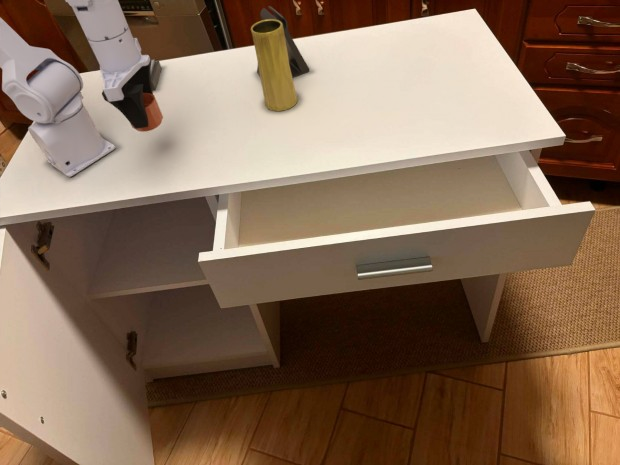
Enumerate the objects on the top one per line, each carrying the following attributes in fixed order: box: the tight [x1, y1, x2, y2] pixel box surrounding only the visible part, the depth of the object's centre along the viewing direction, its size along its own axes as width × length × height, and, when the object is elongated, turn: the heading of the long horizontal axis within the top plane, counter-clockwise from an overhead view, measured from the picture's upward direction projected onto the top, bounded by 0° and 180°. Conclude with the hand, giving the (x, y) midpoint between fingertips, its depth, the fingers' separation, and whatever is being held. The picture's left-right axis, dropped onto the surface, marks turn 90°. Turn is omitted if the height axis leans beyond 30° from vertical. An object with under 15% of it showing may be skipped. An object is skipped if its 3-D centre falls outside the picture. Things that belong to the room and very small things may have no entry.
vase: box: [250, 19, 299, 112], centre depth 83 cm, size 6×6×14 cm
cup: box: [129, 93, 164, 133], centre depth 75 cm, size 5×5×4 cm
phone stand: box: [256, 5, 310, 79], centre depth 91 cm, size 9×6×12 cm, turn 115°
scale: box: [150, 59, 163, 91], centre depth 99 cm, size 9×9×3 cm
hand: (145, 116), depth 75 cm, fingers closed on cup, 5 cm apart
